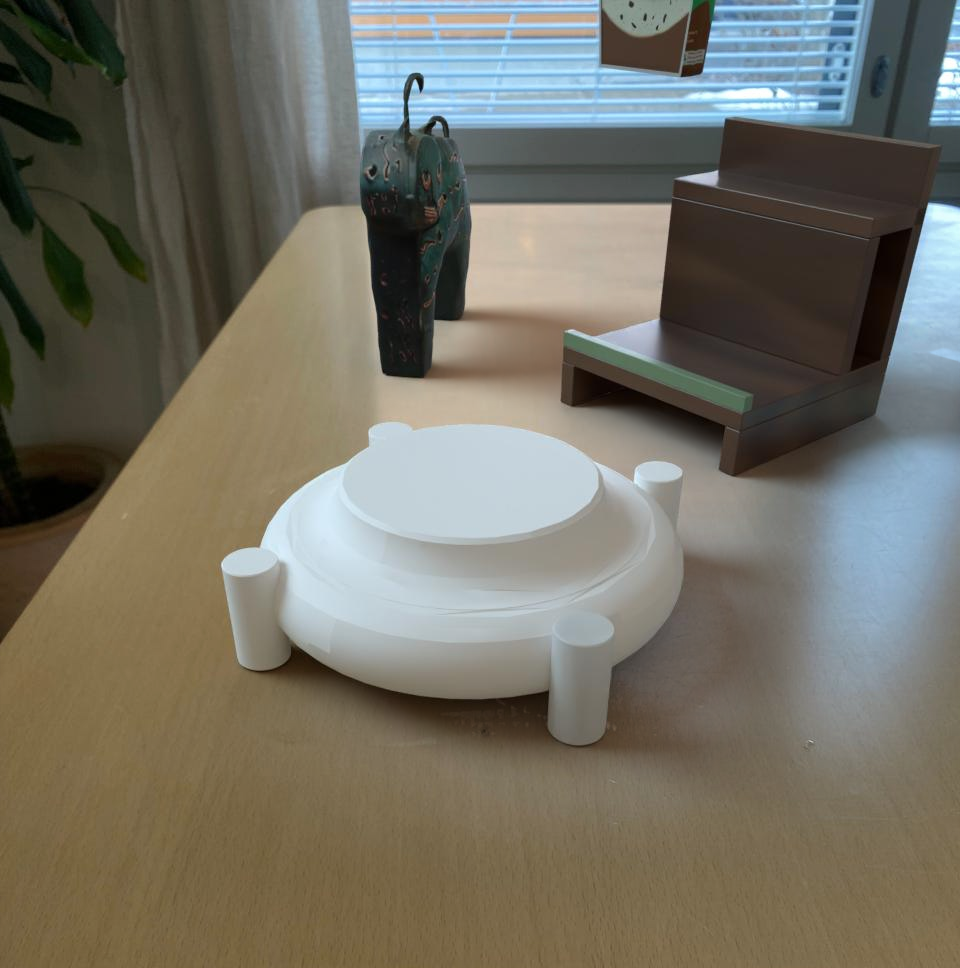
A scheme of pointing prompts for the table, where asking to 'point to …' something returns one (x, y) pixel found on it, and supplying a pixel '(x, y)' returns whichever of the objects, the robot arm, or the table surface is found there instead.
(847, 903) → the table surface
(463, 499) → the round stand with pegs
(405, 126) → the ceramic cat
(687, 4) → the food container
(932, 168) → the step rack
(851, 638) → the table surface
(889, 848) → the table surface
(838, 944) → the table surface
